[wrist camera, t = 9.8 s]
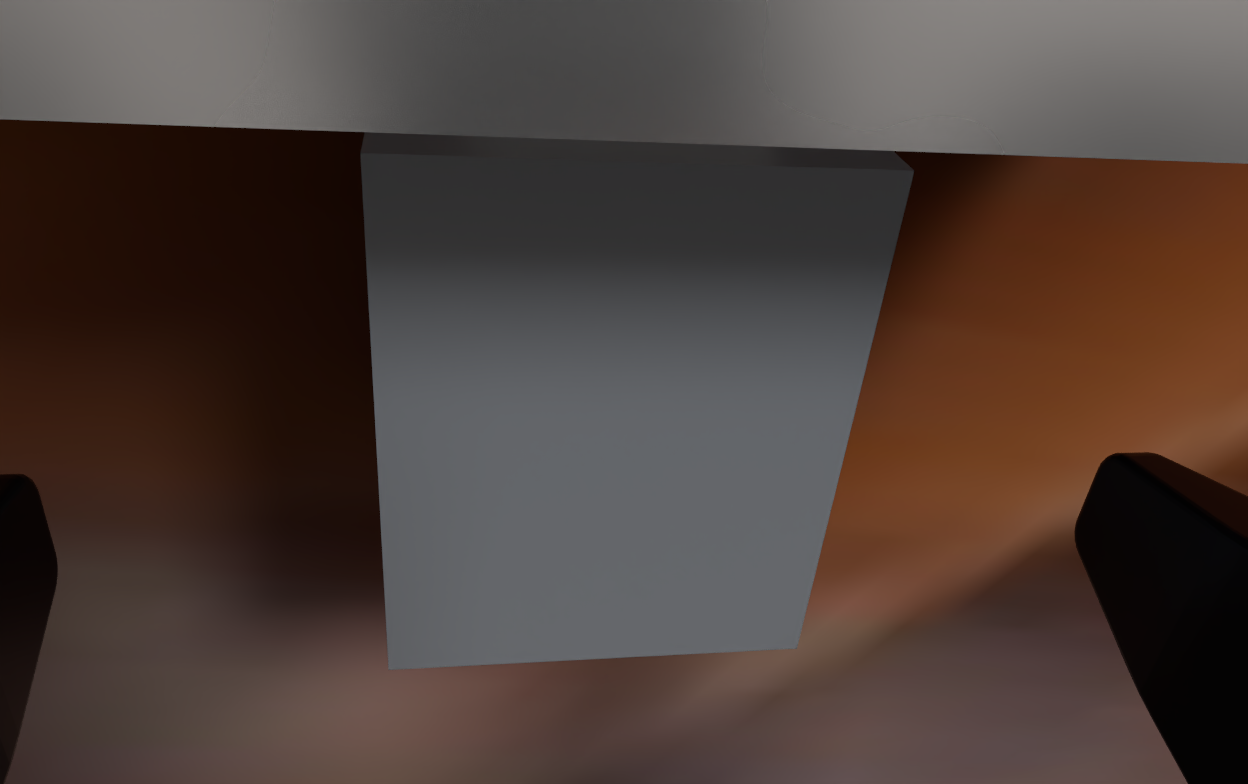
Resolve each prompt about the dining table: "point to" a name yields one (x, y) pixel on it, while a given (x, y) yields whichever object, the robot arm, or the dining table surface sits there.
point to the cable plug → (613, 386)
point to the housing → (656, 71)
